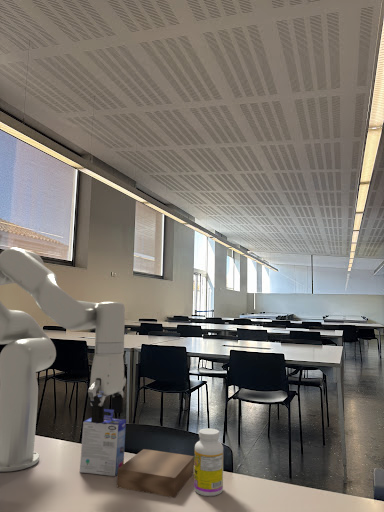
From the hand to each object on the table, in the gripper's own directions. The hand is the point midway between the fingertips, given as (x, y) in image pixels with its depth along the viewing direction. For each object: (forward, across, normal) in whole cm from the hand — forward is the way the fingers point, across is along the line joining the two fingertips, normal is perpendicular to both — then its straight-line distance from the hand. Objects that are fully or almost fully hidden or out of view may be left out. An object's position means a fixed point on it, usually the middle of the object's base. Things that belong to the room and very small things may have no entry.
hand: (107, 417), depth 99 cm
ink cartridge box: (+13, 0, -1) cm, 13 cm away
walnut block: (+13, 0, +14) cm, 19 cm away
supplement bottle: (+14, +1, +27) cm, 30 cm away
